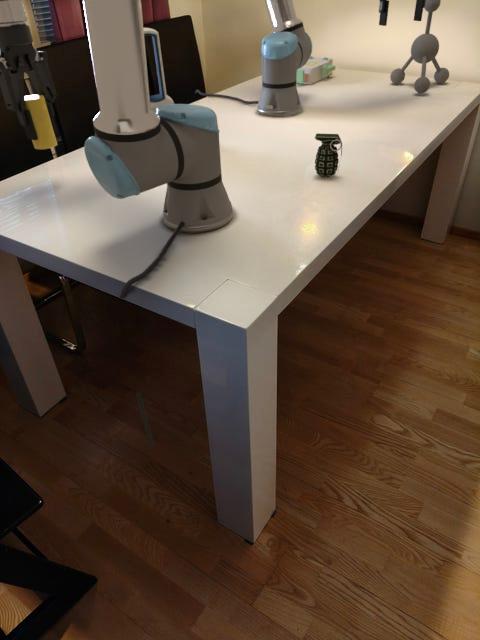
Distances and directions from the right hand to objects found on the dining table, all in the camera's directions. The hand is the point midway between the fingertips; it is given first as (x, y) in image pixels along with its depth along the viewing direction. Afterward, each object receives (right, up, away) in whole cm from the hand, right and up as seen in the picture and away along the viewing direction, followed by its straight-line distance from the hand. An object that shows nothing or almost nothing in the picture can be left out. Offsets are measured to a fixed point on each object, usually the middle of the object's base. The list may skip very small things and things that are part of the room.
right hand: (400, 23), depth 153 cm
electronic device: (-75, -38, -3) cm, 84 cm away
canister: (-98, -51, -34) cm, 115 cm away
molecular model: (+20, -3, +35) cm, 40 cm away
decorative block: (-22, +10, +55) cm, 60 cm away
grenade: (-29, -57, -31) cm, 71 cm away
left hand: (-98, -49, -35) cm, 115 cm away
